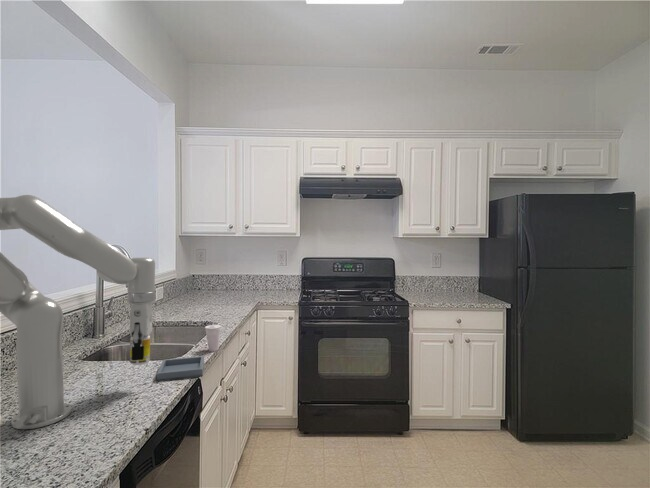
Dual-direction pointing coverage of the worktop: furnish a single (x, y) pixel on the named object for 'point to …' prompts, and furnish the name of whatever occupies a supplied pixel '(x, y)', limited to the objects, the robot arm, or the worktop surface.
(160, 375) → the slate tray
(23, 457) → the worktop surface
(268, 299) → the worktop surface
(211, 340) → the smoothie
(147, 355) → the supplement bottle
